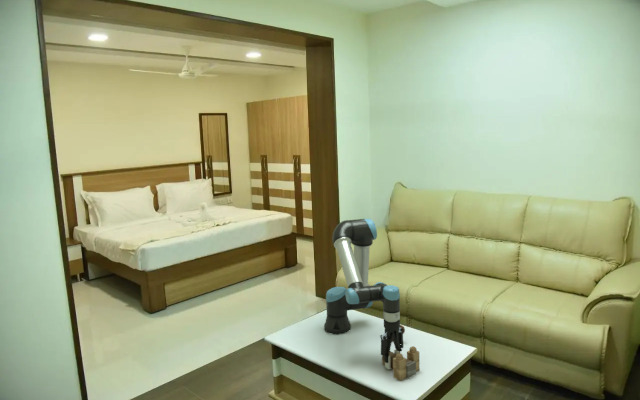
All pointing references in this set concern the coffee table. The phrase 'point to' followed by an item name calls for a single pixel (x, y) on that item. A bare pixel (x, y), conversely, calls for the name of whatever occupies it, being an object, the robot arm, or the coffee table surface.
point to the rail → (392, 355)
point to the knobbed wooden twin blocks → (406, 370)
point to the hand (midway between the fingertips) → (392, 365)
